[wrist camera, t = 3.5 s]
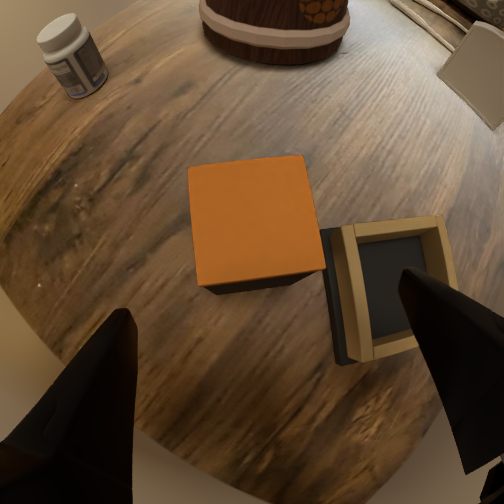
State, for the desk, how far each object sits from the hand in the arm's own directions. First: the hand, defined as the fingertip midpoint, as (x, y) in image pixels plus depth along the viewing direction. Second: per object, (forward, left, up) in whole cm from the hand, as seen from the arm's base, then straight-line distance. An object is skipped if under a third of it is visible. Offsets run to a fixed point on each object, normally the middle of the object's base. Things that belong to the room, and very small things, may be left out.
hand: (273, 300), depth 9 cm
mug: (+27, +12, -11) cm, 31 cm away
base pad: (+6, -7, -10) cm, 14 cm away
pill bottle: (+9, +25, -11) cm, 29 cm away
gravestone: (+33, -10, -11) cm, 36 cm away
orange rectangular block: (+3, +2, -10) cm, 11 cm away
